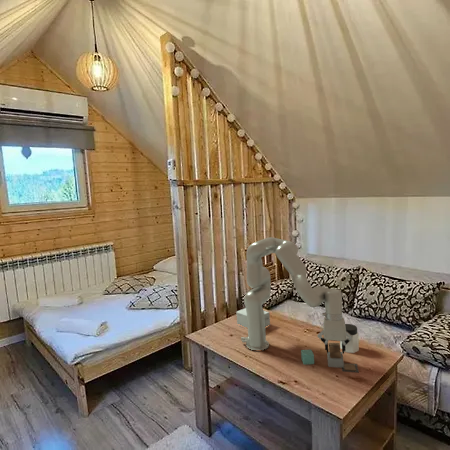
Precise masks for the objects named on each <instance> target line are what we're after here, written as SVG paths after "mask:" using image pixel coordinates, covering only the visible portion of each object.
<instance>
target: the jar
mask: <svg viewBox="0 0 450 450" xmlns="http://www.w3.org/2000/svg"><path fill="white" fill-rule="evenodd" d="M345 326H346V331H347V332H348V333H349V334H350V335H351V336H352V339H351V340H350V341H349V342H348V343H347V344H346V346H345V349H346V351H344V353H347V354H348V353H349V354H355V353H357V352H359V351H360V349H359V348H360V347H359V333H358V327H357V325H356V324H355V325H354V324H351V323H345ZM347 338H348V336H346V339H347ZM339 343H340V350H342V341H339Z"/></svg>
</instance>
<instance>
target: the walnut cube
mask: <svg viewBox="0 0 450 450" xmlns="http://www.w3.org/2000/svg"><path fill="white" fill-rule="evenodd" d="M328 352H330V358H341V352H342V350H341V348H340V342H328Z"/></svg>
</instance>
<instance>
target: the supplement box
mask: <svg viewBox="0 0 450 450" xmlns="http://www.w3.org/2000/svg"><path fill="white" fill-rule="evenodd" d="M263 311H264V317H265V327H266V326H268V325H270V326H271V318H270V317H271V316H270V311H266V310H264V309H263ZM236 324H240V325H242V326H244V327H247V328H248V325H247V312H246V307H245V308H242V309H240V310H237V311H236Z"/></svg>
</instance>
